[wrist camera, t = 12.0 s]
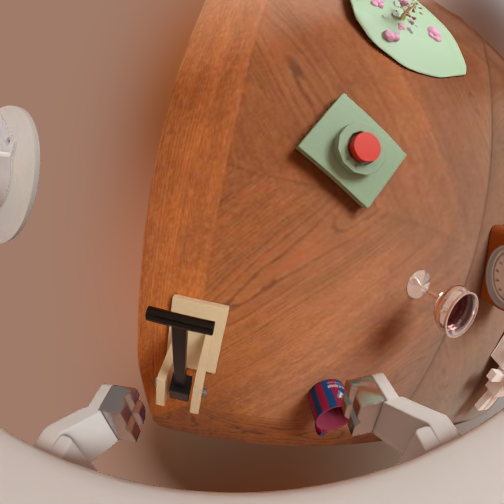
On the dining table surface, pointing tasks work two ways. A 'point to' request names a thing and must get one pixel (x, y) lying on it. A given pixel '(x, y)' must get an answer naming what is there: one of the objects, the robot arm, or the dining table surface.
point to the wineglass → (447, 304)
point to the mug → (327, 405)
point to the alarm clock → (494, 269)
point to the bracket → (194, 348)
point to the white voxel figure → (494, 379)
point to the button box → (339, 157)
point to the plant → (410, 36)
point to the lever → (180, 345)
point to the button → (364, 147)
